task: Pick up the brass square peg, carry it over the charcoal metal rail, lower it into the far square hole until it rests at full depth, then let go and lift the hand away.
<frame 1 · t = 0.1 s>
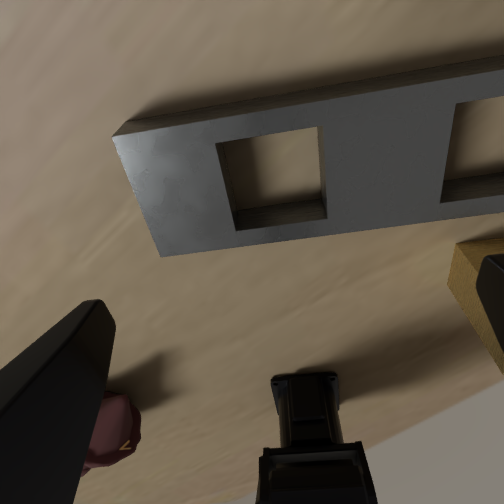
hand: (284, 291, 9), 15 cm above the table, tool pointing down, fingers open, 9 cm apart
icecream: (114, 395, 38), on the table
rail: (373, 149, 22), on the table
brass peg: (479, 261, 27), on the table
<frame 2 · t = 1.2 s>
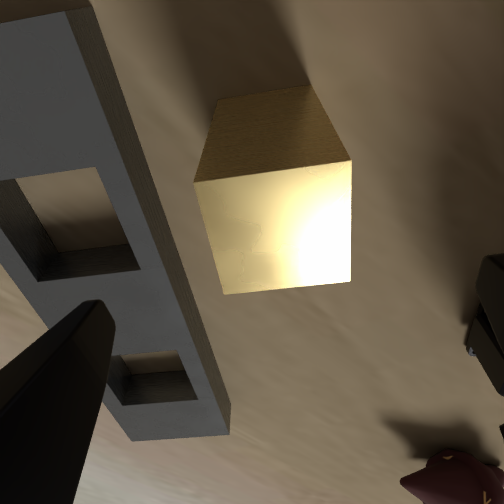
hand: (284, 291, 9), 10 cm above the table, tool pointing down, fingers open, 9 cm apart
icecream: (444, 452, 36), on the table
rail: (125, 288, 22), on the table
brass peg: (269, 137, 17), on the table
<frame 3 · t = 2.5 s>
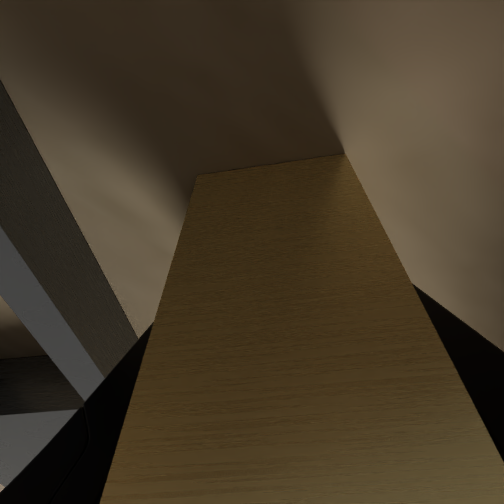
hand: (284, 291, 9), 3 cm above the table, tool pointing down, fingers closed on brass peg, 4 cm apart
rail: (82, 398, 17), on the table
brass peg: (278, 226, 11), on the table, touching gripper
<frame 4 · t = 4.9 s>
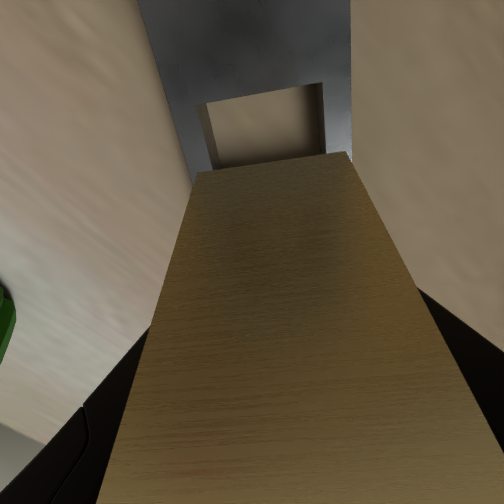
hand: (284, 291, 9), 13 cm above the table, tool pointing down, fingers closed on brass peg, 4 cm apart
rail: (246, 3, 16), on the table
brass peg: (278, 224, 11), point 10 cm above the table, touching gripper
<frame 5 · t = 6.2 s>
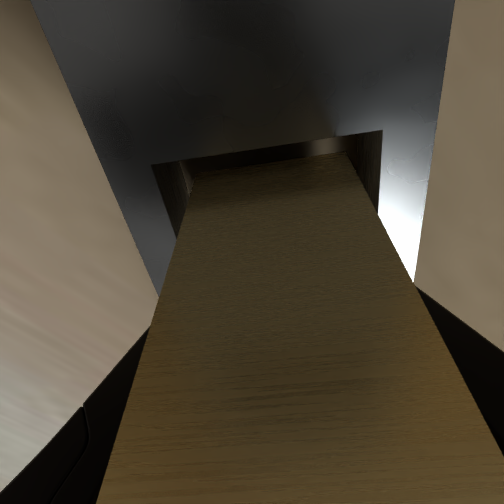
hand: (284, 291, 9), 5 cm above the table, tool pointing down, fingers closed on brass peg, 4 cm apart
brass peg: (278, 224, 11), point 2 cm above the table, touching gripper
when the fingers open (4 cm above the table, at t = 7.3 s): brass peg stays where it is, resting in rail.
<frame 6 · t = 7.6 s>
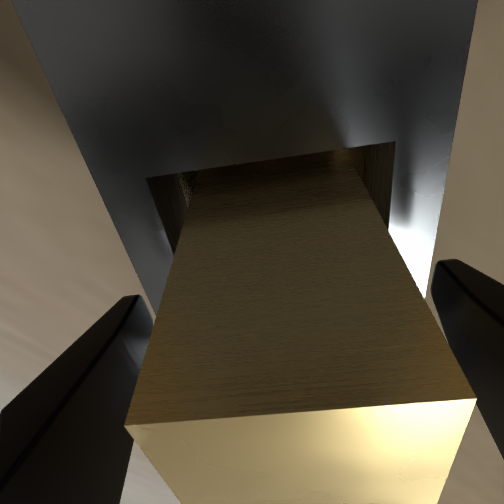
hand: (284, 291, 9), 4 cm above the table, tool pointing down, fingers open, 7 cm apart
brass peg: (277, 208, 12), resting in rail
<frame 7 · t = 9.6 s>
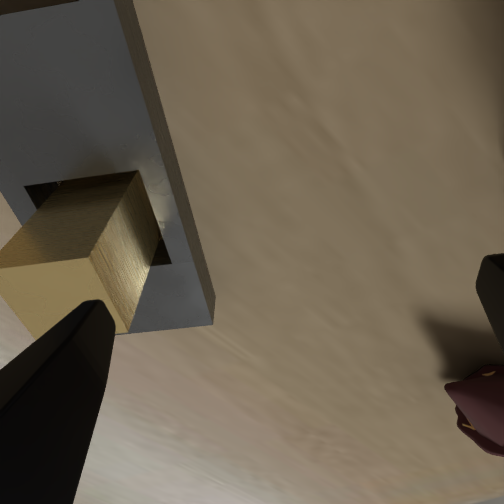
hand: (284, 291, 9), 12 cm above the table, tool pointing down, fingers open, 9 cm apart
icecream: (481, 372, 31), on the table
rail: (70, 91, 17), on the table
brass peg: (118, 202, 20), resting in rail
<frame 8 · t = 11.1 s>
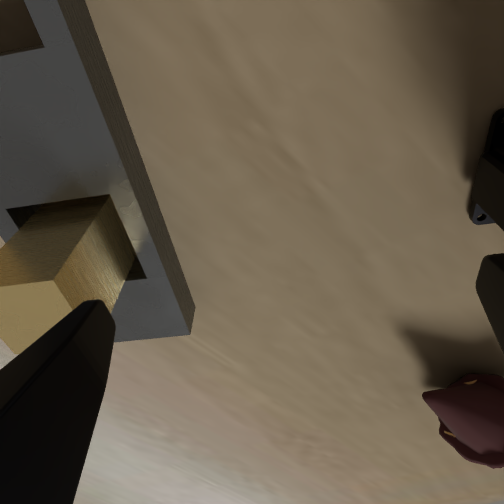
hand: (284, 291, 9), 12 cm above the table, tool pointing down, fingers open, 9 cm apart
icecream: (464, 380, 32), on the table
rail: (48, 121, 18), on the table
brass peg: (98, 220, 22), resting in rail
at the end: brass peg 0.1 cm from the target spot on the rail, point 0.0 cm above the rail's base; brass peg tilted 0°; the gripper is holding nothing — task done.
